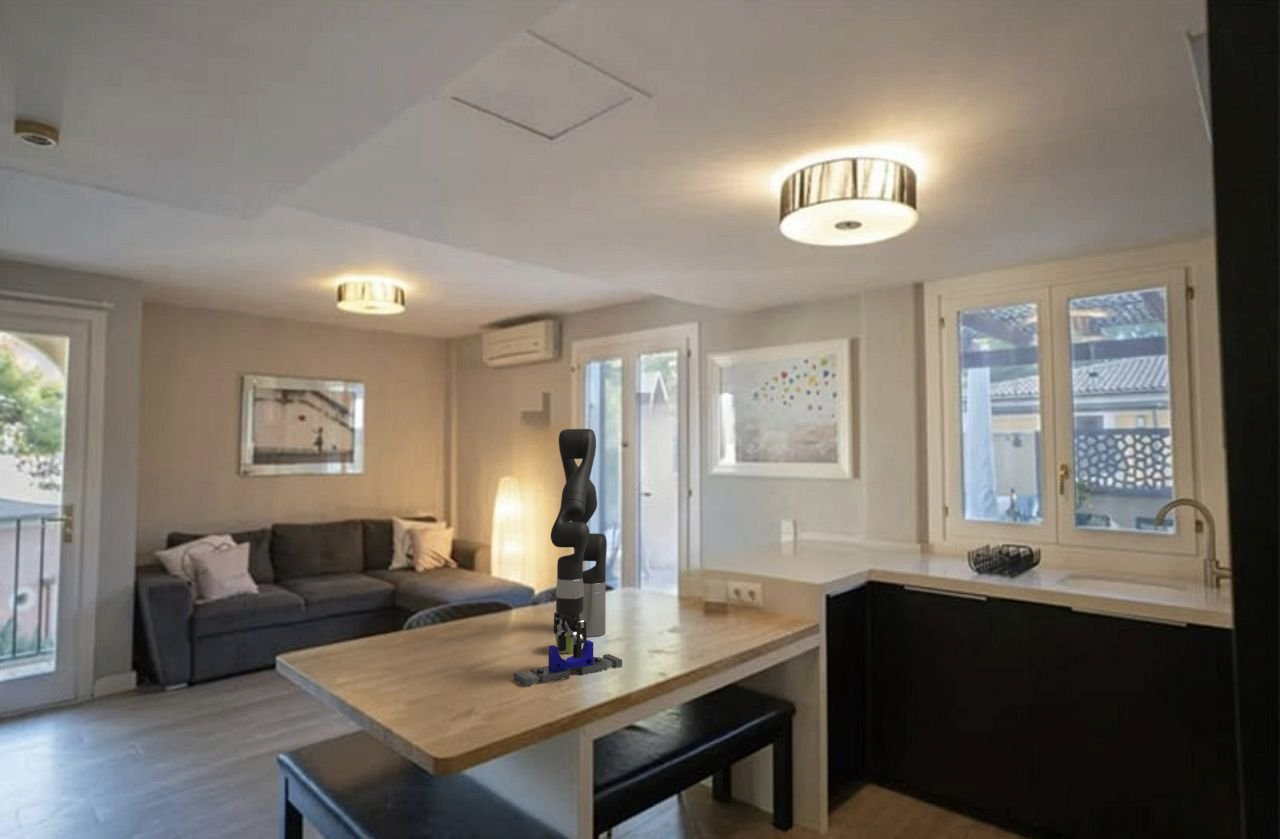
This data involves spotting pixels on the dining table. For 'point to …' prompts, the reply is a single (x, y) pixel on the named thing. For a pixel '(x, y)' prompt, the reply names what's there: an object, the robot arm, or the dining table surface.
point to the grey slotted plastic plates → (565, 671)
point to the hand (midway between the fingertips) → (569, 654)
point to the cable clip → (570, 658)
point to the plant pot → (568, 643)
